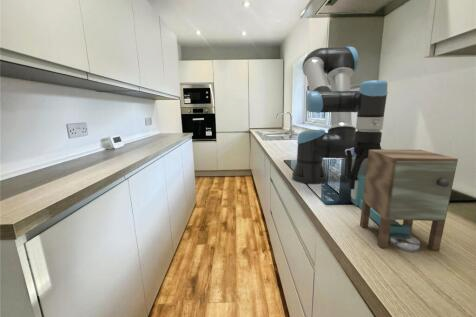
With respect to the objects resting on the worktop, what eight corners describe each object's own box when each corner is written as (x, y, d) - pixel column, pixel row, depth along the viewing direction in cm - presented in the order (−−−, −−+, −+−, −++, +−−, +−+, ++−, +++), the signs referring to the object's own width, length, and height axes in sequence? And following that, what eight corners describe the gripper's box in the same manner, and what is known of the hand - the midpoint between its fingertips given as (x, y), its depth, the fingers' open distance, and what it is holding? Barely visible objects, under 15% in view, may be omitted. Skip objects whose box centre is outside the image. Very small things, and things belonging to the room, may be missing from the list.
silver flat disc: (384, 237, 57) (384, 232, 57) (409, 238, 57) (409, 233, 57) (397, 251, 52) (398, 245, 51) (425, 253, 51) (426, 247, 51)
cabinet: (359, 224, 64) (368, 149, 59) (408, 226, 62) (420, 149, 58) (384, 252, 51) (398, 160, 46) (445, 255, 50) (465, 160, 45)
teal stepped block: (349, 201, 80) (351, 174, 78) (366, 201, 79) (369, 174, 77) (384, 235, 57) (389, 199, 55) (409, 236, 57) (415, 199, 55)
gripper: (345, 131, 69) (338, 201, 74) (404, 131, 68) (394, 203, 72) (336, 129, 77) (331, 193, 81) (390, 129, 75) (381, 194, 80)
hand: (361, 197), depth 77 cm, fingers closed on teal stepped block, 4 cm apart
